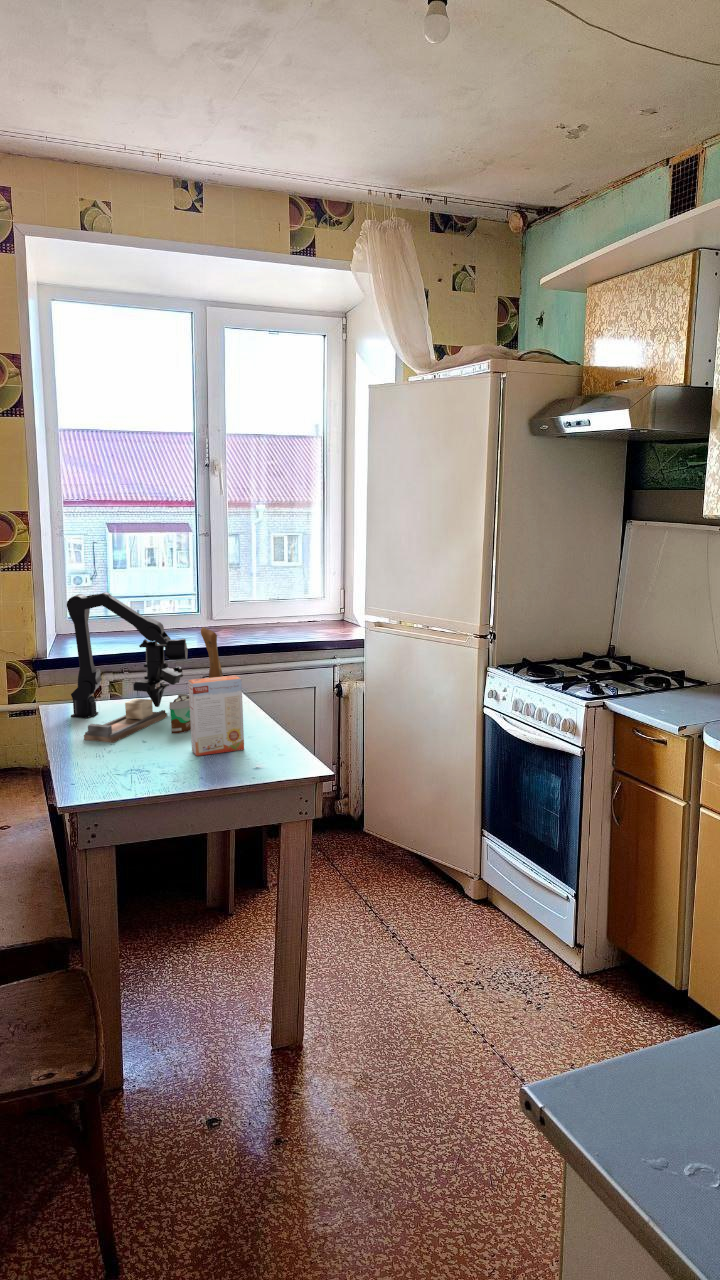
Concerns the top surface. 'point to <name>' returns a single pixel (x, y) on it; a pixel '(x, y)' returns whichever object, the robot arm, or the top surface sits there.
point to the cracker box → (216, 715)
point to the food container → (180, 714)
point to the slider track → (120, 727)
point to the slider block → (138, 708)
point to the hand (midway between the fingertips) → (157, 706)
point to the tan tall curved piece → (212, 652)
